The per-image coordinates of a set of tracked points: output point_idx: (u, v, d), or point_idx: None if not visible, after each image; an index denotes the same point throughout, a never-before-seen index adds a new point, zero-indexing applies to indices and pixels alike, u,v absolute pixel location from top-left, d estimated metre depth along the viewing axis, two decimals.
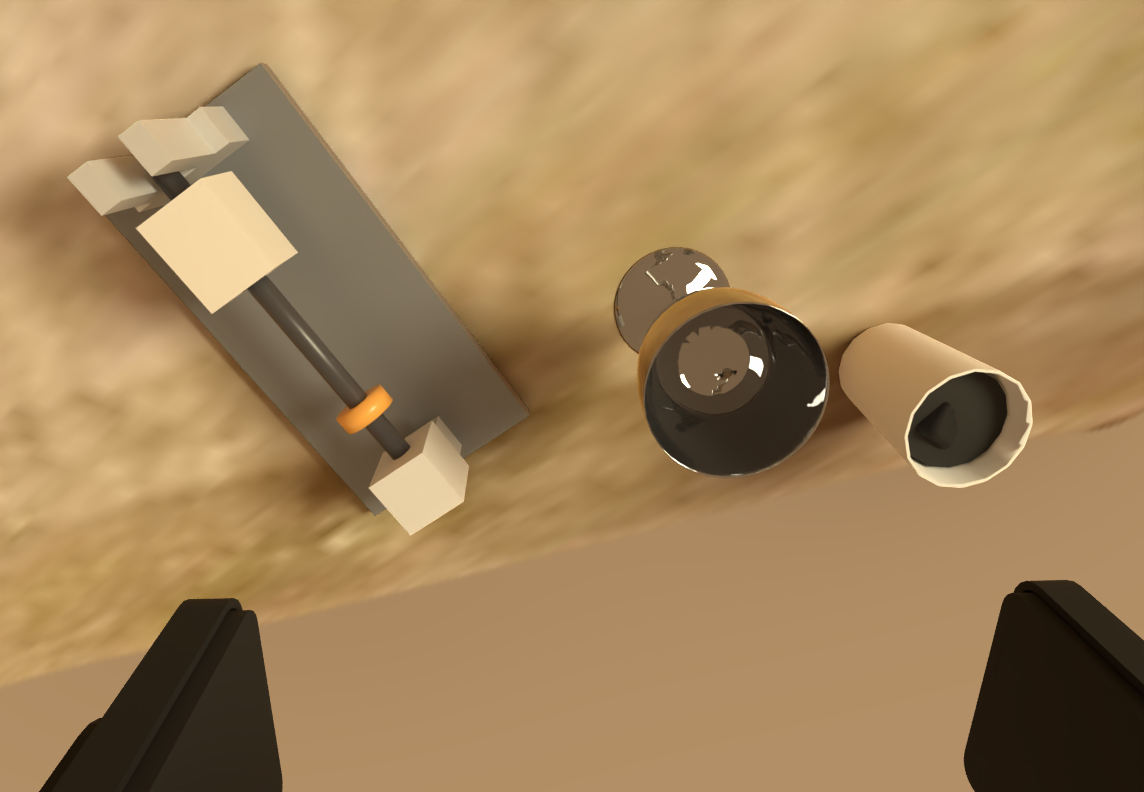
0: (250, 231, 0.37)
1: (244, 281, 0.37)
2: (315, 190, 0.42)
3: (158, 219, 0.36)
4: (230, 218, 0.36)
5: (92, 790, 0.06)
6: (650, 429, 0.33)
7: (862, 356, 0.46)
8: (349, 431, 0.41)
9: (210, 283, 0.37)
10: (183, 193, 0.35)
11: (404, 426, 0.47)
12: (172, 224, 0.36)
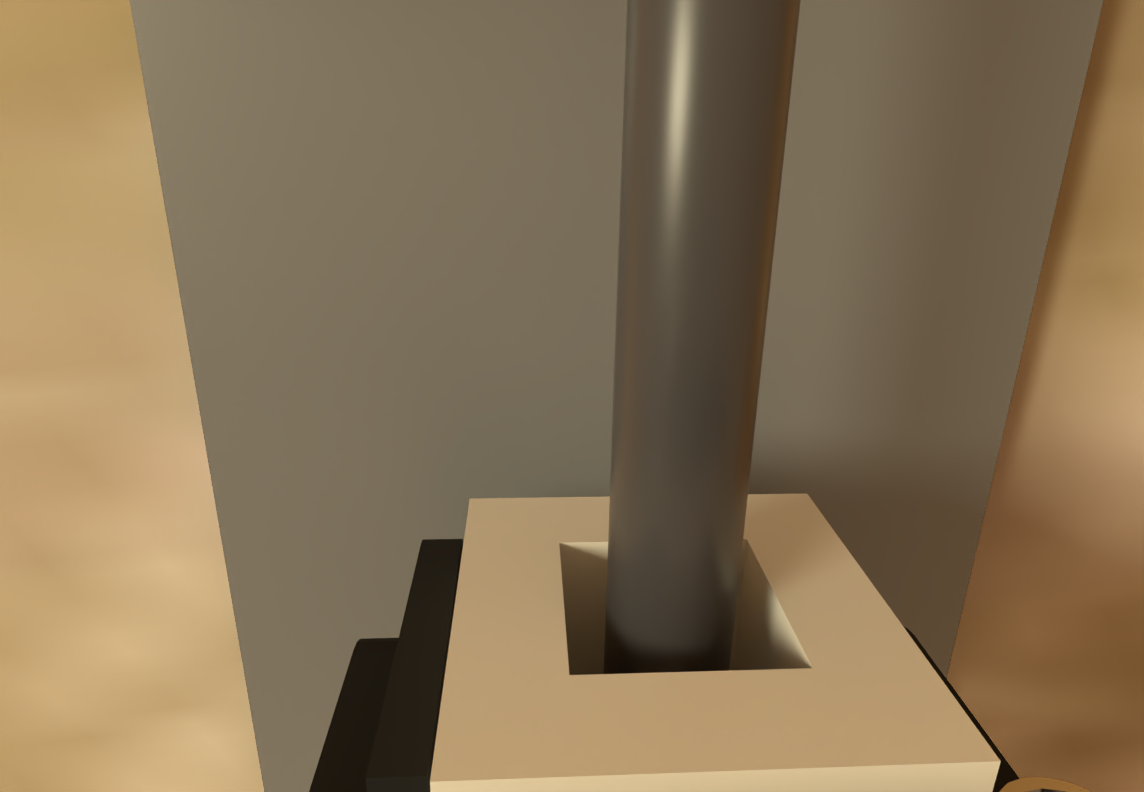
0: None
1: None
2: (345, 542, 0.12)
3: None
4: None
5: (421, 678, 0.07)
6: None
7: None
8: None
9: None
10: None
11: None
12: None
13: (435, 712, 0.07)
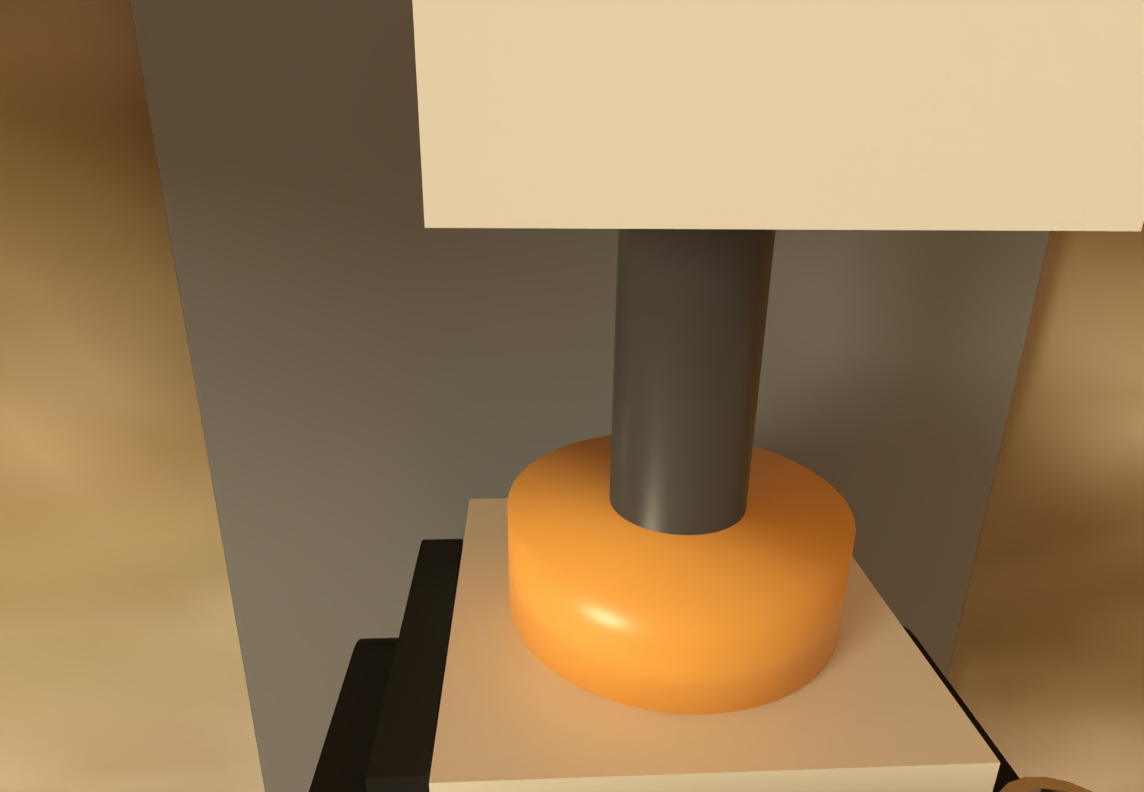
0: None
1: None
2: None
3: None
4: None
5: (420, 678, 0.07)
6: None
7: None
8: (833, 587, 0.06)
9: None
10: None
11: None
12: None
13: (435, 712, 0.07)
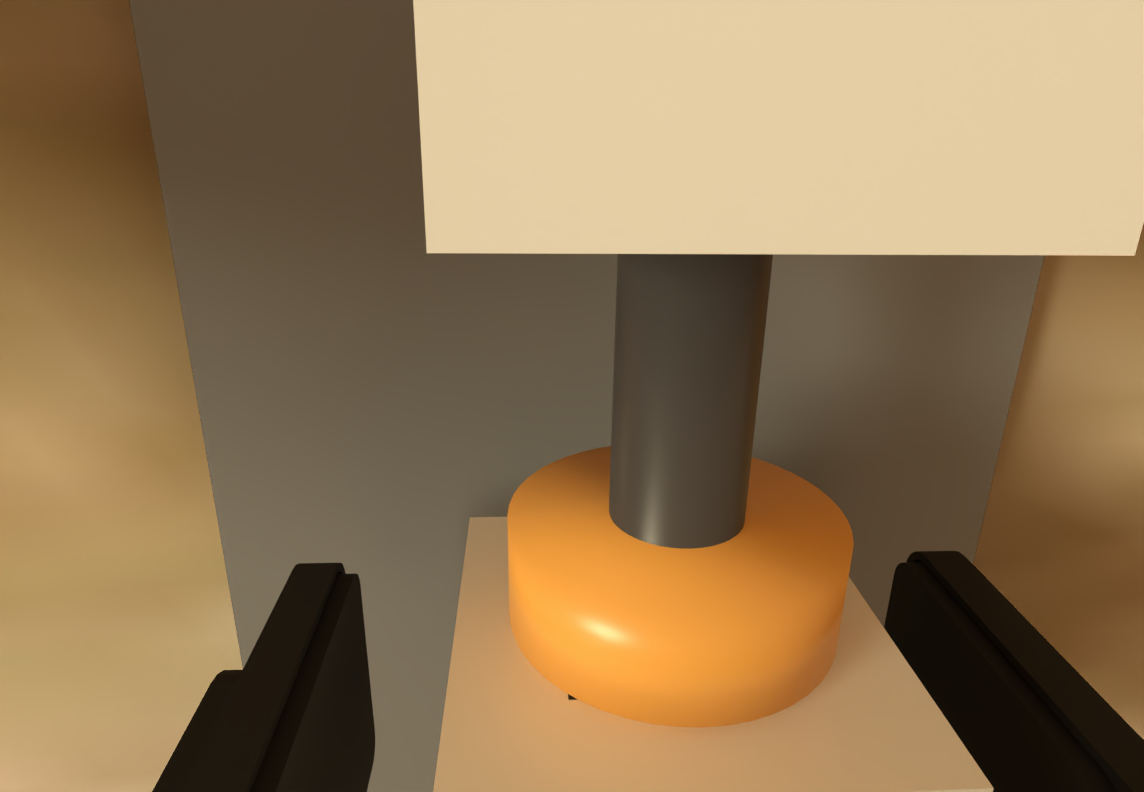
0: None
1: None
2: None
3: None
4: None
5: (251, 722, 0.07)
6: None
7: None
8: (829, 601, 0.06)
9: None
10: None
11: None
12: None
13: (255, 762, 0.06)
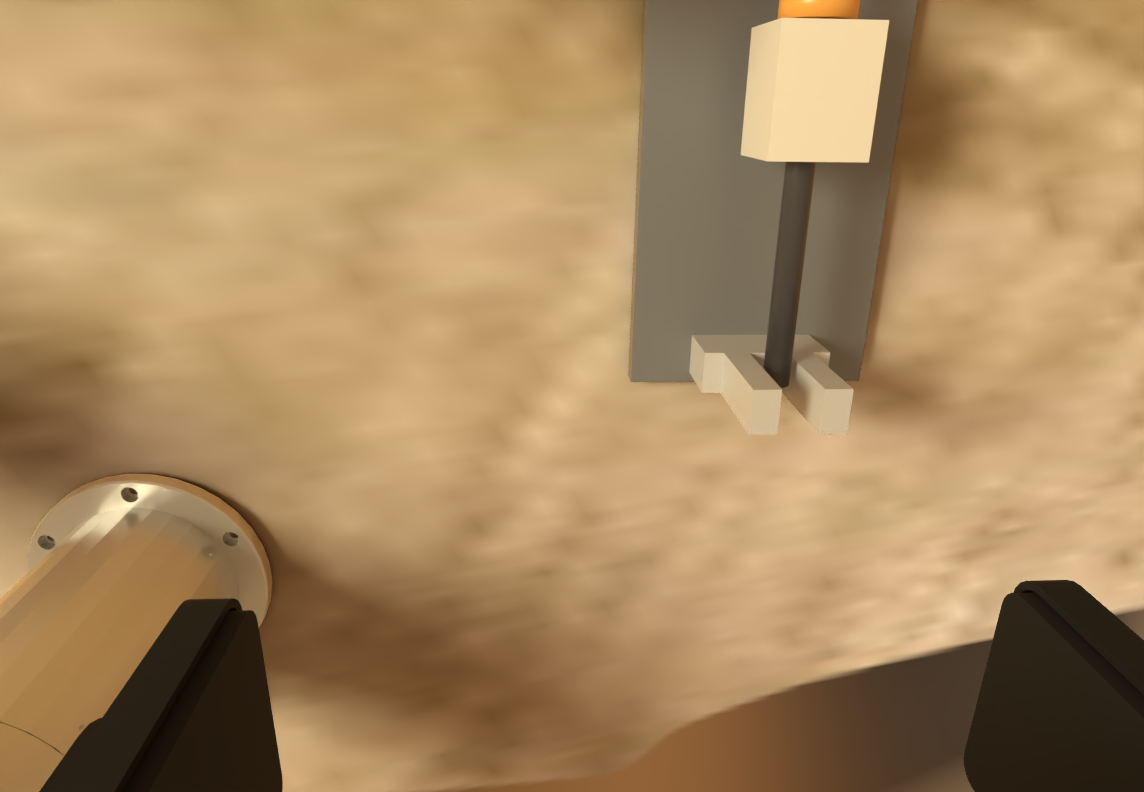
0: (771, 77, 0.29)
1: (824, 28, 0.28)
2: (674, 257, 0.37)
3: (841, 154, 0.30)
4: (776, 103, 0.29)
5: (93, 790, 0.06)
6: None
7: None
8: None
9: (858, 54, 0.28)
10: (795, 160, 0.30)
11: None
12: (833, 140, 0.30)
13: None
